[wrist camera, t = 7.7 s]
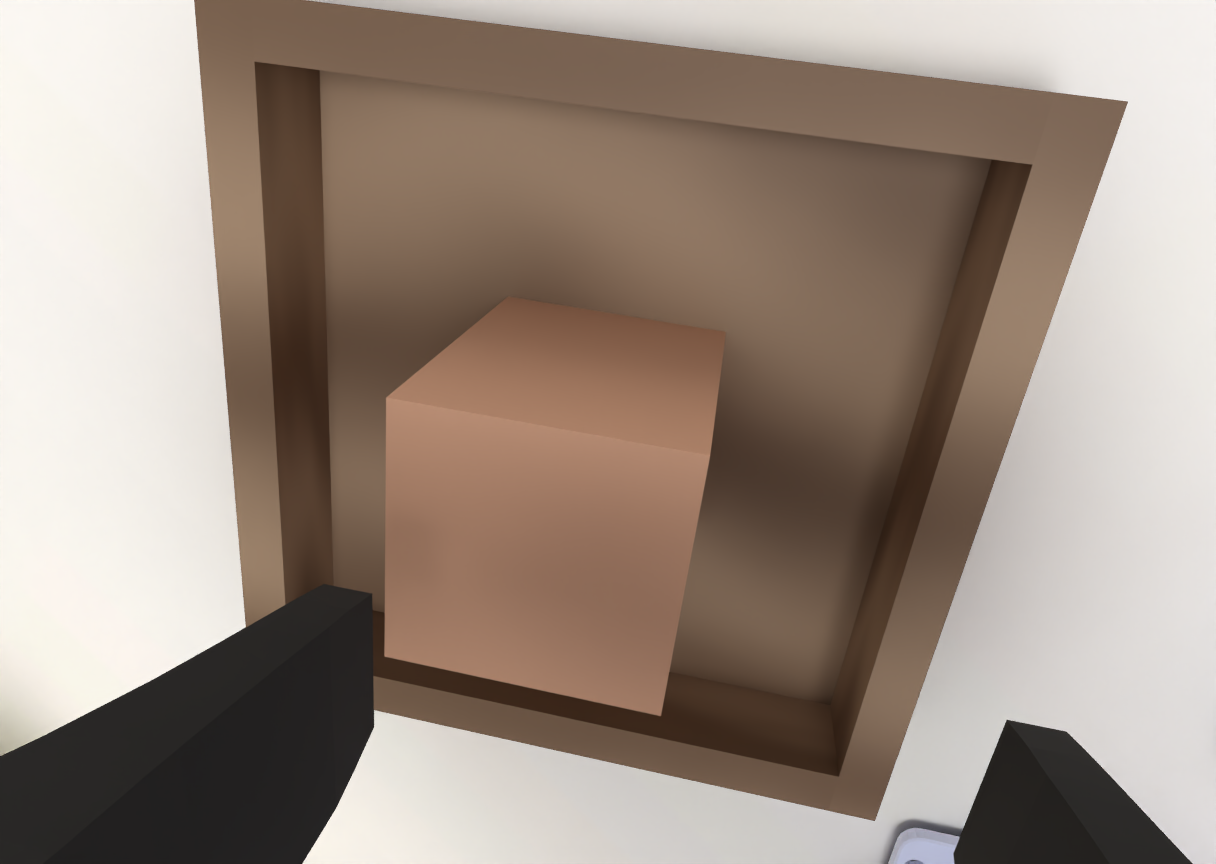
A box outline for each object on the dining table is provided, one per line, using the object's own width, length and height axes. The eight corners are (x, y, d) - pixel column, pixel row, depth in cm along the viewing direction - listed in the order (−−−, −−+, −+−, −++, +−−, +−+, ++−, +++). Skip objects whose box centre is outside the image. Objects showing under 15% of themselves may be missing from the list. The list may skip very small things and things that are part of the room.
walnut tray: (858, 721, 20) (874, 820, 17) (313, 608, 22) (250, 682, 19) (1057, 99, 14) (1127, 102, 12) (290, 4, 16) (193, -14, 13)
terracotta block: (689, 525, 18) (661, 716, 12) (494, 488, 18) (384, 656, 13) (725, 331, 16) (710, 455, 11) (508, 296, 17) (386, 397, 11)
